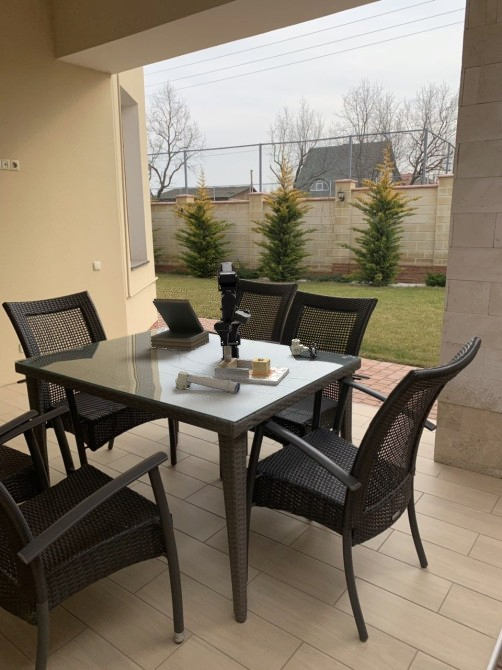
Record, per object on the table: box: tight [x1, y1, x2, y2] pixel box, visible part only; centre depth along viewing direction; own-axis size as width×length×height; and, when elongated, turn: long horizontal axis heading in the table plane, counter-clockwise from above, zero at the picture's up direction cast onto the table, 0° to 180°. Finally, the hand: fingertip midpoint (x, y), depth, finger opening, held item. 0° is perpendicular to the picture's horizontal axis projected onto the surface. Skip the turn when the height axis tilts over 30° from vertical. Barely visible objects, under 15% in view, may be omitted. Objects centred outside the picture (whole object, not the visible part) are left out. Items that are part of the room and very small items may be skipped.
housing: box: [252, 357, 271, 375], centre depth 192 cm, size 6×5×5 cm
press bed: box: [212, 358, 290, 386], centre depth 194 cm, size 26×18×4 cm
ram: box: [218, 346, 238, 368], centre depth 196 cm, size 4×10×10 cm, turn 160°
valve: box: [290, 338, 319, 358], centre depth 222 cm, size 7×7×12 cm
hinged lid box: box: [150, 298, 210, 352], centre depth 246 cm, size 23×20×25 cm
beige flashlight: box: [174, 371, 241, 394], centre depth 179 cm, size 5×7×25 cm
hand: (230, 343), depth 194 cm, fingers open, 9 cm apart
